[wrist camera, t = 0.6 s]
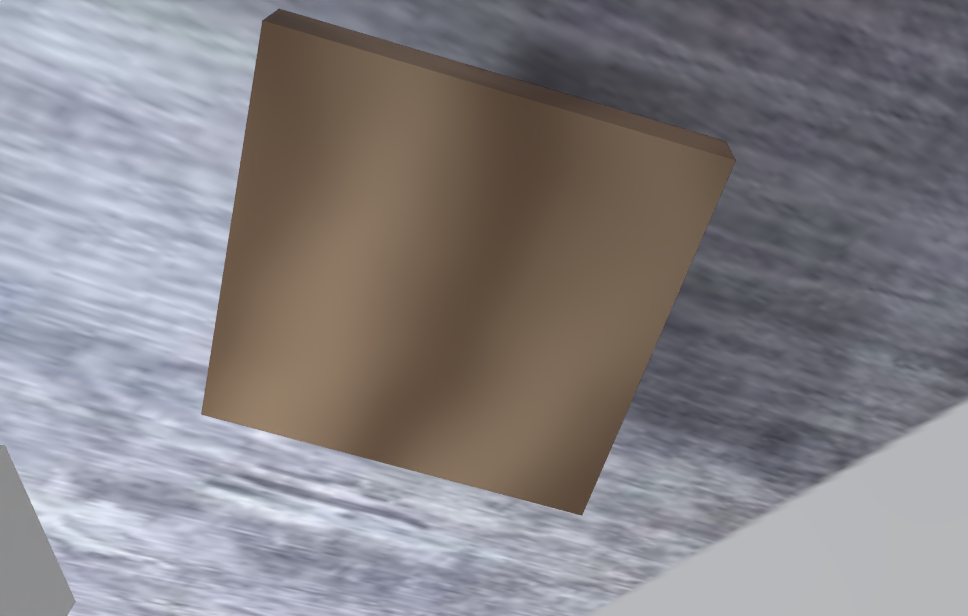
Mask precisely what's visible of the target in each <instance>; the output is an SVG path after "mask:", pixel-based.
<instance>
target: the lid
mask: <svg viewBox="0 0 968 616" xmlns="http://www.w3.org/2000/svg"><path fill="white" fill-rule="evenodd" d="M735 161H736V160H735V158H734V156H733V154H732V152H731V150H730V148H729V146H728V144H727V142H726V141H723V140H720V139H716V138H713V137H709V136H706V135H703V134H699V133H696V132H693V131H689V130H686V129H682V128H679V127H676V126H672V125H669V124H666V123H662V122H659V121H656V120H652V119H649V118H645V117H642V116H639V115H635V114H632V113H629V112H625V111H622V110H619V109H615V108H612V107H608V106H605V105H602V104H598V103H595V102H592V101H588V100H585V99H581V98H578V97H575V96H571V95H568V94H565V93H561V92H558V91H555V90H551V89H548V88H544V87H541V86H538V85H534V84H531V83H528V82H524V81H521V80H517V79H514V78H511V77H507V76H504V75H501V74H497V73H494V72H491V71H487V70H484V69H480V68H477V67H474V66H470V65H467V64H464V63H460V62H457V61H454V60H450V59H447V58H443V57H440V56H437V55H433V54H430V53H427V52H423V51H420V50H416V49H413V48H410V47H406V46H403V45H400V44H396V43H393V42H390V41H386V40H383V39H379V38H376V37H373V36H369V35H366V34H363V33H359V32H356V31H352V30H349V29H346V28H342V27H339V26H336V25H332V24H329V23H326V22H322V21H319V20H315V19H312V18H309V17H305V16H302V15H299V14H295V13H292V12H289V11H285V10H282V9H278V10H277V11H275V12H274V13H272V14H271V15H270V16H268V17H267V18H265V19H264V20H263V21H262V27H261V34H260V40H259V47H258V53H257V59H256V66H255V72H254V79H253V85H252V92H251V98H250V105H249V111H248V117H247V124H246V130H245V137H244V143H243V150H242V156H241V162H240V169H239V175H238V182H237V188H236V195H235V201H234V208H233V214H232V220H231V227H230V233H229V240H228V246H227V253H226V259H225V265H224V272H223V278H222V285H221V291H220V298H219V304H218V310H217V317H216V323H215V330H214V336H213V343H212V349H211V356H210V362H209V368H208V375H207V381H206V388H205V394H204V401H203V407H202V413H201V415H205V416H209V417H213V418H216V419H220V420H224V421H228V422H232V423H235V424H239V425H243V426H247V427H250V428H254V429H258V430H262V431H265V432H269V433H273V434H277V435H281V436H284V437H288V438H292V439H296V440H299V441H303V442H307V443H311V444H314V445H318V446H322V447H326V448H330V449H333V450H337V451H341V452H345V453H348V454H352V455H356V456H360V457H363V458H367V459H371V460H375V461H379V462H382V463H386V464H390V465H394V466H397V467H401V468H405V469H409V470H412V471H416V472H420V473H424V474H428V475H431V476H435V477H439V478H443V479H446V480H450V481H454V482H458V483H461V484H465V485H469V486H473V487H477V488H480V489H484V490H488V491H492V492H495V493H499V494H503V495H507V496H510V497H514V498H518V499H522V500H526V501H529V502H533V503H537V504H541V505H544V506H548V507H552V508H556V509H559V510H563V511H567V512H571V513H575V514H578V515H582V514H583V512H584V510H585V508H586V505H587V503H588V501H589V498H590V496H591V494H592V491H593V489H594V487H595V484H596V482H597V480H598V477H599V475H600V473H601V471H602V468H603V466H604V464H605V461H606V459H607V457H608V454H609V452H610V450H611V447H612V445H613V443H614V441H615V438H616V436H617V434H618V431H619V429H620V427H621V424H622V422H623V420H624V417H625V415H626V413H627V411H628V408H629V406H630V404H631V401H632V399H633V397H634V394H635V392H636V390H637V387H638V385H639V383H640V380H641V378H642V376H643V374H644V371H645V369H646V367H647V364H648V362H649V360H650V357H651V355H652V353H653V350H654V348H655V346H656V344H657V341H658V339H659V337H660V334H661V332H662V330H663V327H664V325H665V323H666V320H667V318H668V316H669V314H670V311H671V309H672V307H673V304H674V302H675V300H676V297H677V295H678V293H679V290H680V288H681V286H682V283H683V281H684V279H685V277H686V274H687V272H688V270H689V267H690V265H691V263H692V260H693V258H694V256H695V253H696V251H697V249H698V247H699V244H700V242H701V240H702V237H703V235H704V233H705V230H706V228H707V226H708V223H709V221H710V219H711V216H712V214H713V212H714V210H715V207H716V205H717V203H718V200H719V198H720V196H721V193H722V191H723V189H724V186H725V184H726V182H727V180H728V177H729V175H730V173H731V170H732V168H733V166H734V163H735Z"/></svg>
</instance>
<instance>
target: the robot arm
mask: <svg viewBox="0 0 968 616" xmlns="http://www.w3.org/2000/svg"><path fill="white" fill-rule="evenodd" d="M75 602H76V601H75V599H74V597H73V595H72V592H71V590H70V588H69V586H68V584H67V581H66V579H65V577H64V575H63V572H62V570H61V568H60V566H59V564H58V561H57V559H56V557H55V555H54V553H53V550H52V548H51V546H50V544H49V541H48V539H47V537H46V535H45V533H44V530H43V528H42V526H41V524H40V522H39V519H38V517H37V515H36V513H35V510H34V508H33V506H32V504H31V502H30V499H29V497H28V495H27V493H26V491H25V488H24V486H23V484H22V482H21V479H20V477H19V475H18V473H17V471H16V468H15V466H14V464H13V462H12V460H11V457H10V455H9V453H8V451H7V448H6V446H5V445H0V616H67V615H68V613H69V611H70V610H71V608H72V607H73V605H74V603H75Z"/></svg>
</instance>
